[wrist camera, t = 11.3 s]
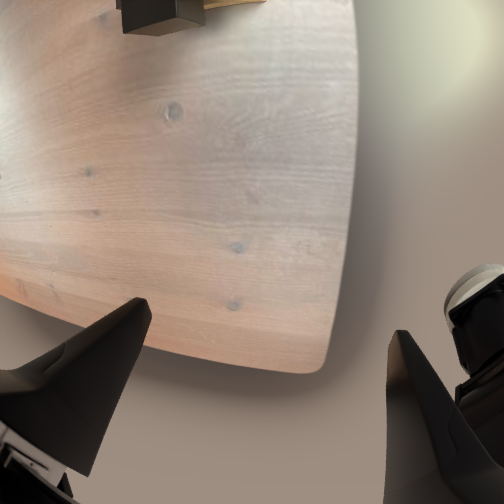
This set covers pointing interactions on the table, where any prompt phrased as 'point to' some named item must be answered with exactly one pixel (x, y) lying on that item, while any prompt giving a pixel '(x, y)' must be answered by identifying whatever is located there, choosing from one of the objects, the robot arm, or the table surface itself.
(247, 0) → the rack
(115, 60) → the table surface
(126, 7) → the knife
